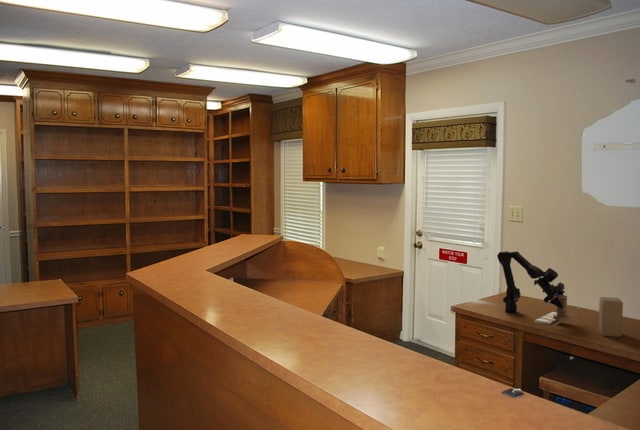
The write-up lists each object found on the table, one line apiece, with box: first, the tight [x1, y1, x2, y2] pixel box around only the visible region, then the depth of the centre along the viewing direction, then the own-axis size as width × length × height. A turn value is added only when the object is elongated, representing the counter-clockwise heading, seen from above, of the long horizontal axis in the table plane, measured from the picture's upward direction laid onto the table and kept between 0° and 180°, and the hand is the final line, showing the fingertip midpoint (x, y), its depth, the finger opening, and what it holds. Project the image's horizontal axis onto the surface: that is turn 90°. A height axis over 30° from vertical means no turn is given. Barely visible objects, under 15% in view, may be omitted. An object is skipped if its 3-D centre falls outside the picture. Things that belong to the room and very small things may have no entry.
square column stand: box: [553, 294, 571, 322], centre depth 309 cm, size 7×7×14 cm
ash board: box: [534, 311, 558, 326], centre depth 319 cm, size 26×8×1 cm, turn 134°
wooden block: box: [598, 296, 624, 338], centre depth 288 cm, size 10×10×20 cm
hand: (564, 307), depth 308 cm, fingers closed on square column stand, 4 cm apart
